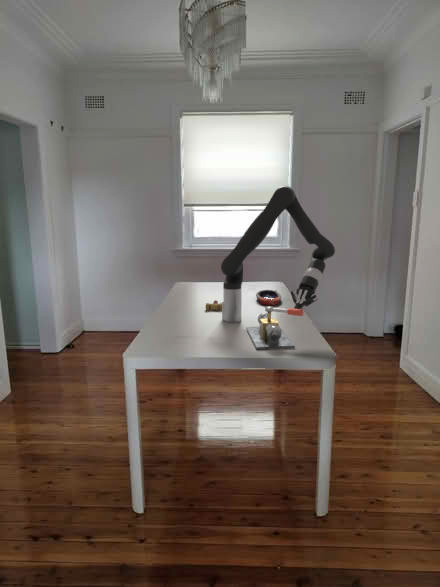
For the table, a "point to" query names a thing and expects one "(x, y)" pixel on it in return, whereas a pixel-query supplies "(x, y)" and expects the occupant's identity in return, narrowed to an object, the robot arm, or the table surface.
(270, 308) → the valve lever
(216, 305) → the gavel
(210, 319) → the table surface
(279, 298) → the dish
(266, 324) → the valve body
